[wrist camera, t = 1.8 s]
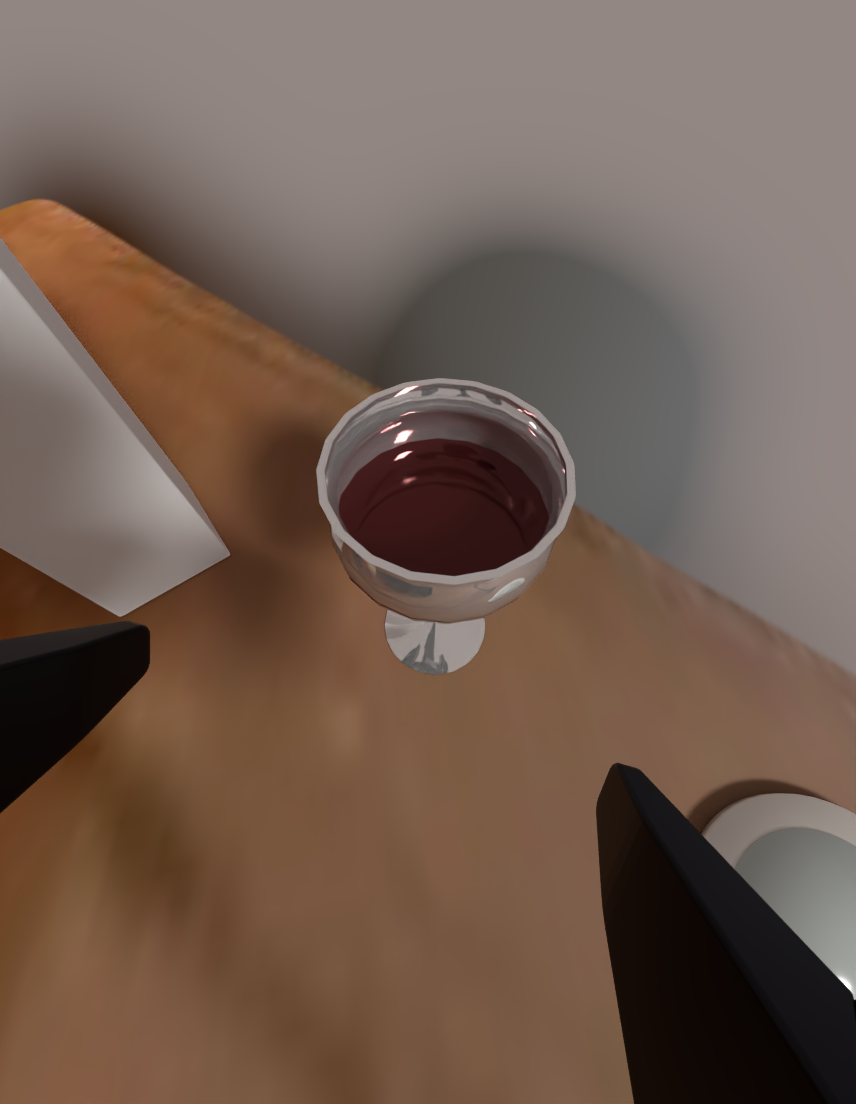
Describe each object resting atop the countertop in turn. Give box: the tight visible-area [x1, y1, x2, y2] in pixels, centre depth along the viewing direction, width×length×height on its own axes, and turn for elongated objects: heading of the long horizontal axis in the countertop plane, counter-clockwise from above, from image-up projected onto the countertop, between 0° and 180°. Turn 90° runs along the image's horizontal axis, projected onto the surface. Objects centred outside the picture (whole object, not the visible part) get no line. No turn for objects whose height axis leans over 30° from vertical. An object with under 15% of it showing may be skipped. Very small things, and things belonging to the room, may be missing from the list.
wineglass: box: [316, 378, 576, 675], centre depth 17 cm, size 7×7×12 cm
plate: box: [701, 793, 856, 1000], centre depth 16 cm, size 10×10×1 cm
